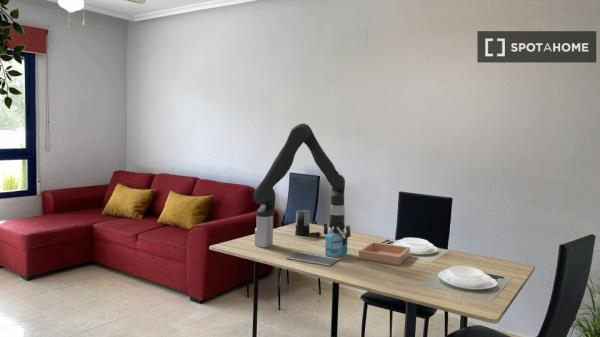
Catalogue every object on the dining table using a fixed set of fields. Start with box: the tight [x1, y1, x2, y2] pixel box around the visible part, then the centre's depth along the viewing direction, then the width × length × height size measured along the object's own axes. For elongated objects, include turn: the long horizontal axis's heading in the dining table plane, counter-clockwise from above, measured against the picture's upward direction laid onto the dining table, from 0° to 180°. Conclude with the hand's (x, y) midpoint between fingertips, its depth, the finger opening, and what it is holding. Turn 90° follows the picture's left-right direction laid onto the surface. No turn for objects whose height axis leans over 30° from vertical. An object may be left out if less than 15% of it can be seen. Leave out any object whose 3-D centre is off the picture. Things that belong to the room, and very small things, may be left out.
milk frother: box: [294, 209, 322, 237], centre depth 278 cm, size 14×16×15 cm
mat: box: [286, 251, 341, 268], centre depth 229 cm, size 24×12×1 cm, turn 62°
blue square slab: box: [324, 231, 349, 258], centre depth 236 cm, size 12×4×12 cm, turn 130°
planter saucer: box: [358, 241, 411, 266], centre depth 235 cm, size 21×20×4 cm
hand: (336, 243), depth 236 cm, fingers open, 8 cm apart
